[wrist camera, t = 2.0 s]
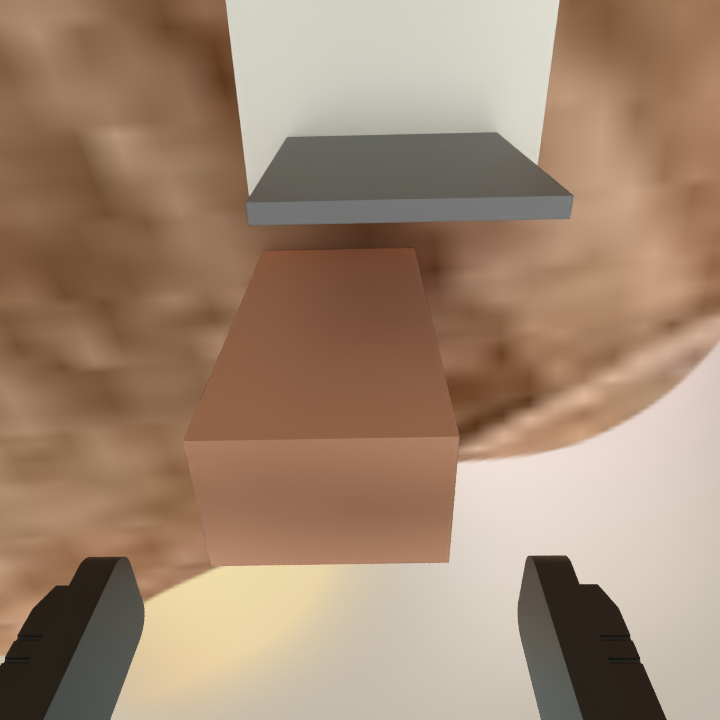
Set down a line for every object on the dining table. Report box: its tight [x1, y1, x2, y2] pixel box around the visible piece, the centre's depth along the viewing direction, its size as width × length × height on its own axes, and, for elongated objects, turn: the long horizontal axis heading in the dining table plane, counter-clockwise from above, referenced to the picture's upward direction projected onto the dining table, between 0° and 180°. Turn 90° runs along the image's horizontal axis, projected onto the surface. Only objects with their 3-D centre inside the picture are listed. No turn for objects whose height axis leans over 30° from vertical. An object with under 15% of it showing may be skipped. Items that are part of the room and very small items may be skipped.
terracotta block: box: [183, 248, 459, 566], centre depth 19 cm, size 6×4×12 cm, turn 91°
